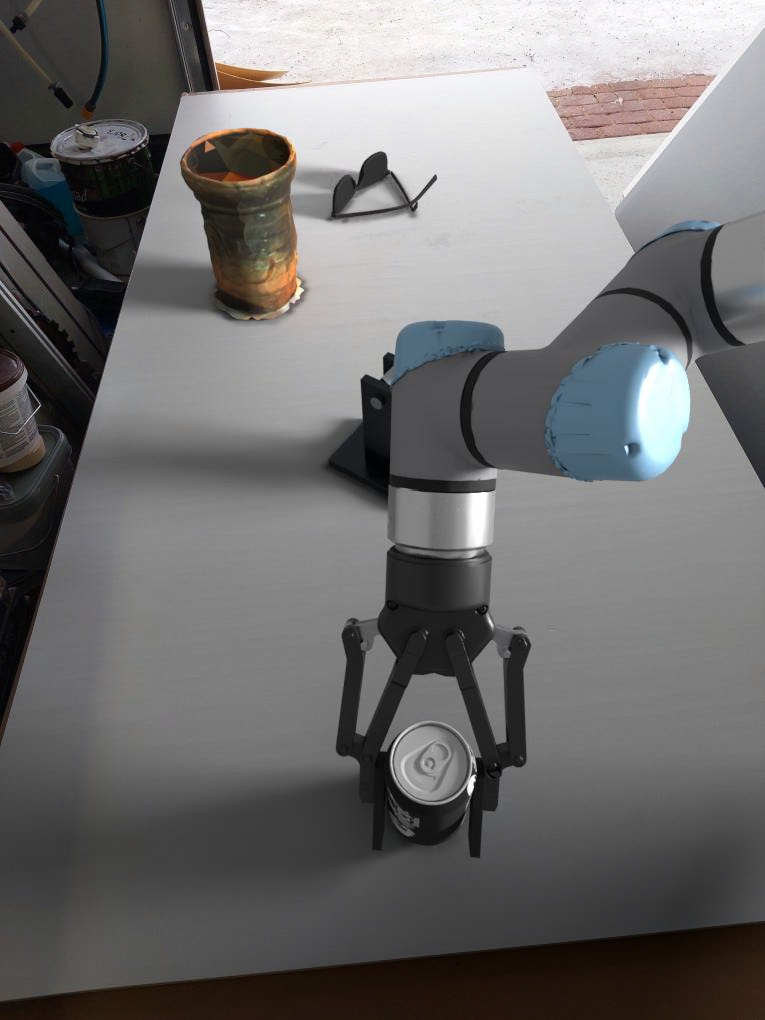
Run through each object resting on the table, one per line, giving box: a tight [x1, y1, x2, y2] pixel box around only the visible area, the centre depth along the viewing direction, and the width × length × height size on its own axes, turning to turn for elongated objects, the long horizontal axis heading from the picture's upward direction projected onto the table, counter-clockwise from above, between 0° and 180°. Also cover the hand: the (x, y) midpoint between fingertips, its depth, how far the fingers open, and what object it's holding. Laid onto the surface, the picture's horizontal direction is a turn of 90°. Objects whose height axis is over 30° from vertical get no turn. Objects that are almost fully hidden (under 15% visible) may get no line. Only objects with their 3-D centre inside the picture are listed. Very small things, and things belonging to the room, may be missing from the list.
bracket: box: [327, 351, 395, 497], centre depth 75 cm, size 12×9×14 cm
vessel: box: [179, 127, 305, 321], centre depth 92 cm, size 14×14×20 cm
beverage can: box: [384, 720, 477, 847], centre depth 53 cm, size 7×7×12 cm
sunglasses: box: [330, 150, 438, 220], centre depth 111 cm, size 17×14×5 cm
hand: (425, 842), depth 53 cm, fingers closed on beverage can, 7 cm apart
